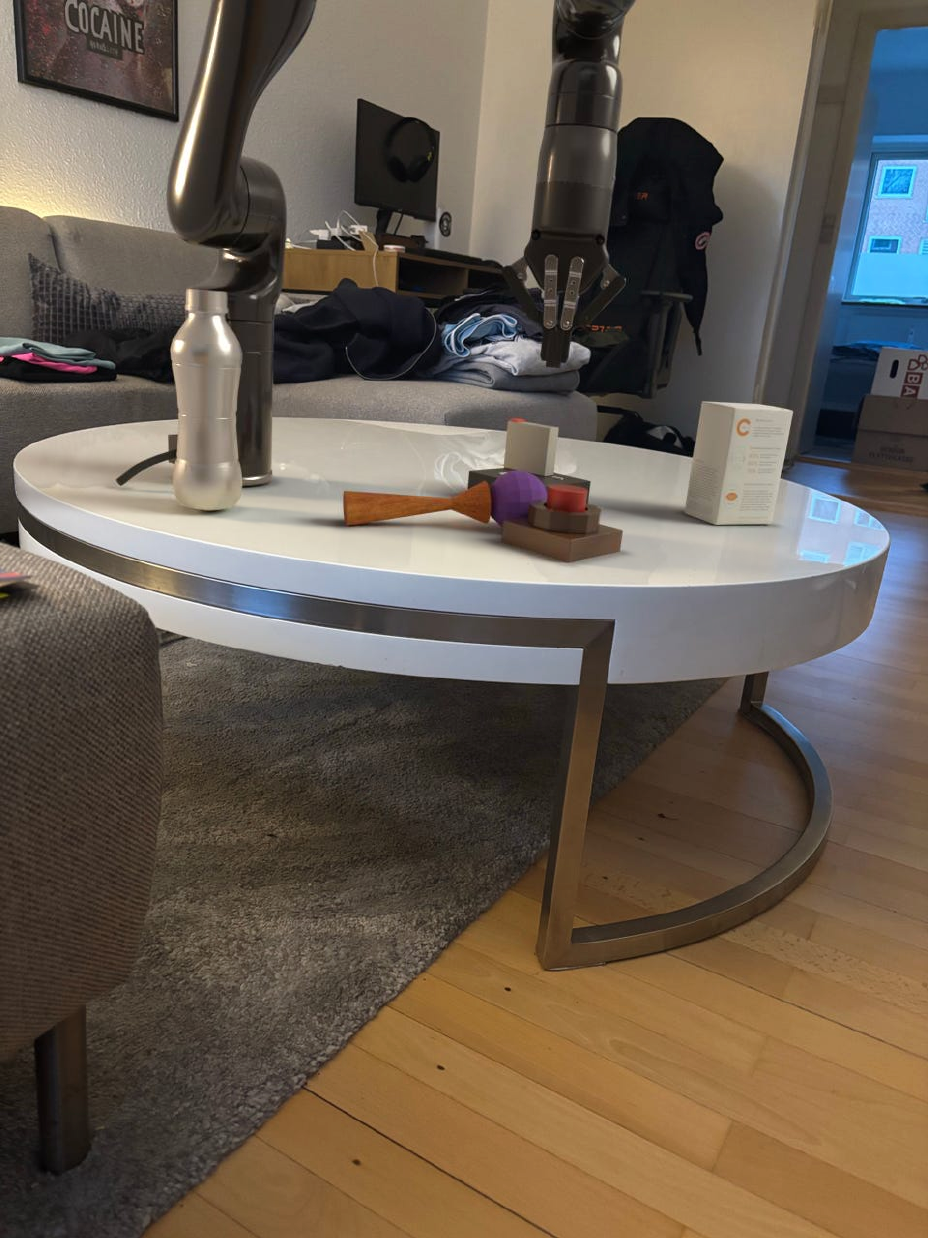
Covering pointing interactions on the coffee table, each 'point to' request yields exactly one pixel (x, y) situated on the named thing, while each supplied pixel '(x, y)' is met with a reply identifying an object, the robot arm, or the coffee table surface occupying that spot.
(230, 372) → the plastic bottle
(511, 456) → the beige square slab
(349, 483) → the coffee table surface
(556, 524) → the block
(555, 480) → the hob panel
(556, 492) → the button
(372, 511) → the kendama
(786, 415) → the small box
